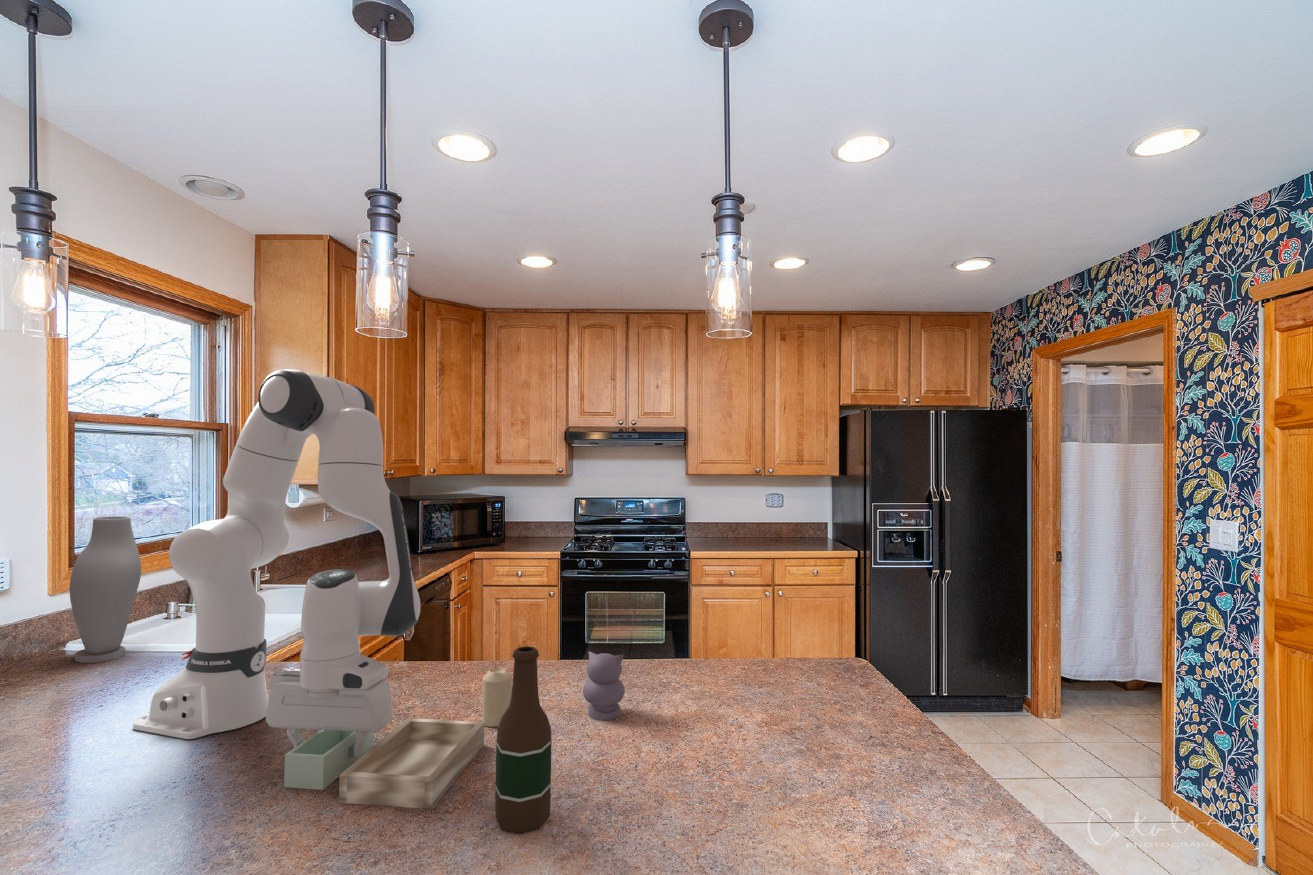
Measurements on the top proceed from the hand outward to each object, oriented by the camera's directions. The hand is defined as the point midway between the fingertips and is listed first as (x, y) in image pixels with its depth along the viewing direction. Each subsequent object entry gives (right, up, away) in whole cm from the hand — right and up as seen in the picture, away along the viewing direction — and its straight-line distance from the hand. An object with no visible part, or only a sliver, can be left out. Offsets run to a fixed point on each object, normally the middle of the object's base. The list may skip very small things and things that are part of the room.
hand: (328, 754), depth 103 cm
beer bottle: (+36, -2, -15) cm, 38 cm away
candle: (+23, -3, +18) cm, 29 cm away
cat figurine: (+44, -3, +22) cm, 49 cm away
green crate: (+1, -2, 0) cm, 2 cm away
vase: (-85, -3, +53) cm, 100 cm away
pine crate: (+16, -2, -2) cm, 16 cm away
